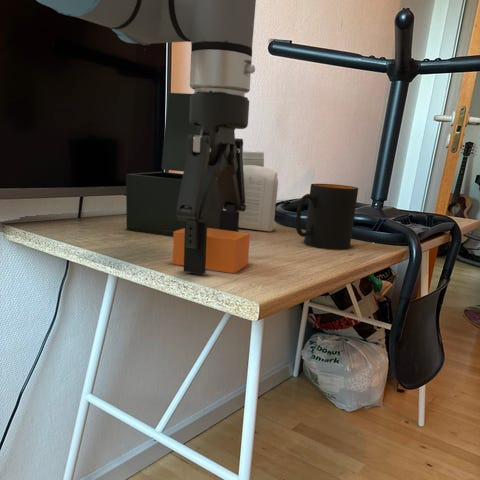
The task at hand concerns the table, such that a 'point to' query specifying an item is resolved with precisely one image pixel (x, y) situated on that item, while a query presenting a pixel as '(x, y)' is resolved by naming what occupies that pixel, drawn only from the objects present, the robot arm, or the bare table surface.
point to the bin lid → (177, 131)
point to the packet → (217, 249)
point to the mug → (328, 216)
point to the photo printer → (259, 198)
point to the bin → (162, 203)
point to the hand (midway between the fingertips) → (212, 262)
